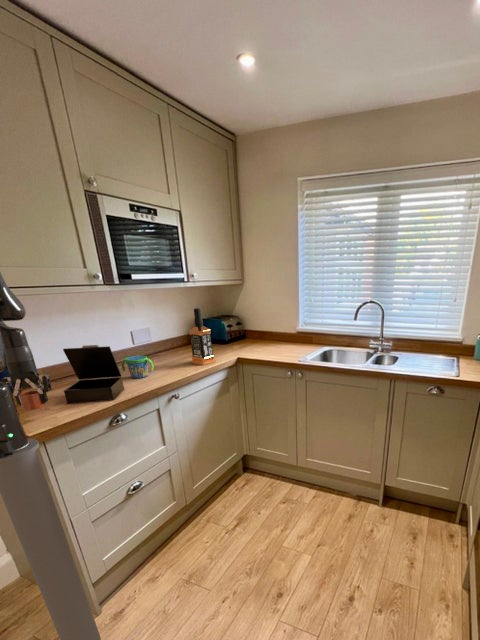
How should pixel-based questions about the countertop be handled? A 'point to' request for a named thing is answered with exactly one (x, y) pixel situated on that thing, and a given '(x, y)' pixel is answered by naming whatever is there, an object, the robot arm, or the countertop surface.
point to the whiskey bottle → (201, 341)
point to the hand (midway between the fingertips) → (33, 403)
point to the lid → (92, 362)
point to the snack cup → (137, 366)
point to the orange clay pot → (30, 400)
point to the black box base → (94, 390)
